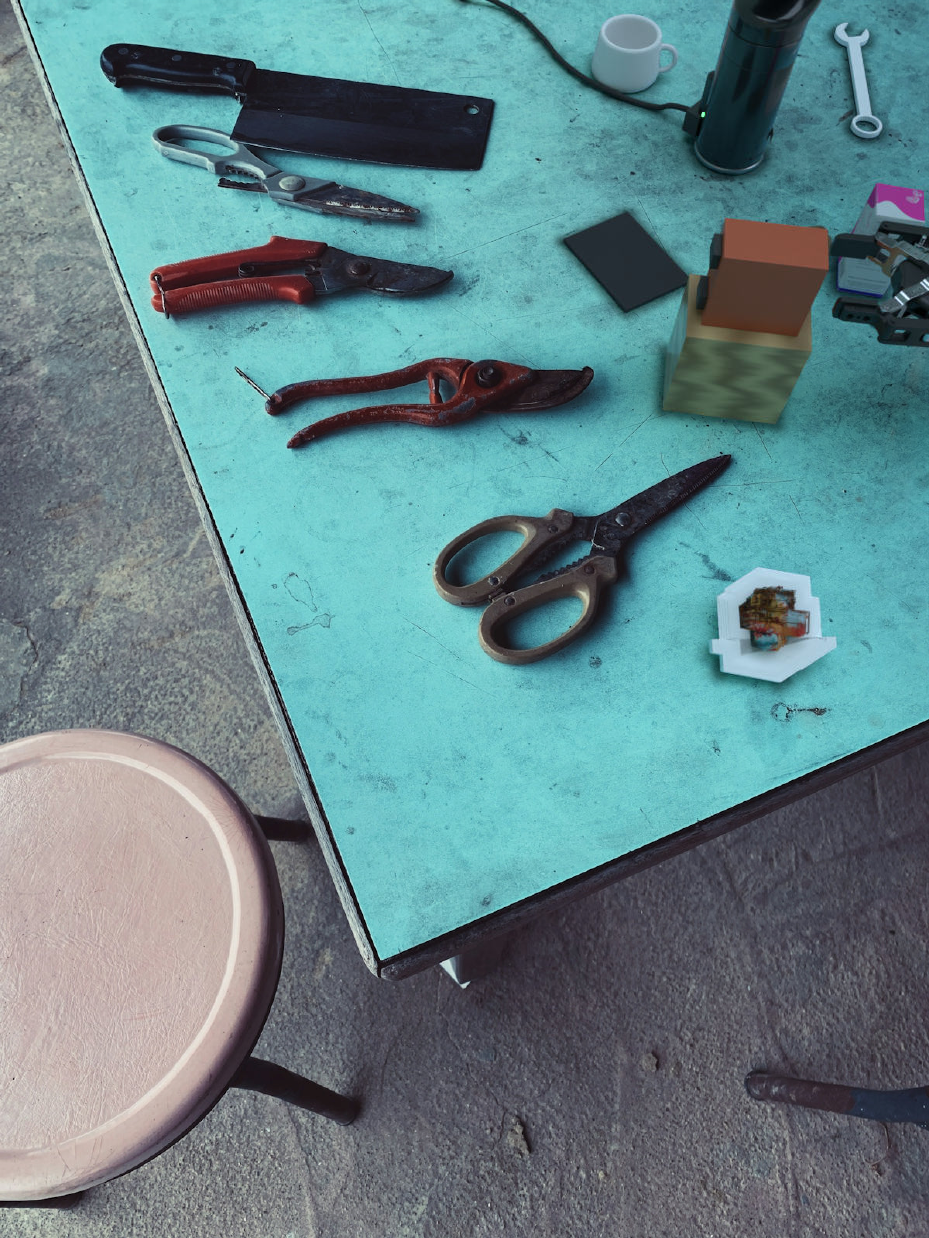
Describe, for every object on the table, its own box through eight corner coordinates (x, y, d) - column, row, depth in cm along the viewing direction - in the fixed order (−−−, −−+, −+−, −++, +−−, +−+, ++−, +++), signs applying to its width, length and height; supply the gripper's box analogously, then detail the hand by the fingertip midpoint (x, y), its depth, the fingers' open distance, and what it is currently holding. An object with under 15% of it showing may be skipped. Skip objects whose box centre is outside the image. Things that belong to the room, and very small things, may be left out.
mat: (562, 241, 118) (563, 238, 118) (626, 214, 121) (627, 211, 120) (625, 313, 113) (626, 310, 113) (691, 283, 116) (691, 280, 115)
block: (796, 296, 99) (827, 227, 91) (797, 337, 96) (829, 269, 88) (695, 284, 99) (717, 215, 91) (693, 324, 97) (715, 256, 89)
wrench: (865, 28, 139) (832, 26, 139) (867, 24, 138) (834, 21, 138) (884, 139, 128) (849, 137, 128) (886, 135, 127) (851, 132, 127)
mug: (586, 91, 132) (592, 49, 126) (594, 49, 136) (600, 7, 130) (670, 102, 131) (679, 60, 125) (676, 60, 135) (685, 18, 130)
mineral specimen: (818, 570, 95) (842, 557, 88) (826, 683, 94) (850, 678, 87) (700, 573, 96) (714, 560, 89) (706, 685, 95) (720, 681, 88)
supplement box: (883, 299, 115) (926, 223, 105) (835, 291, 115) (873, 215, 105) (884, 265, 117) (925, 188, 107) (836, 258, 118) (873, 180, 108)
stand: (775, 364, 110) (810, 287, 99) (775, 424, 106) (812, 351, 95) (666, 351, 111) (689, 273, 100) (662, 410, 107) (685, 336, 96)
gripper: (1012, 212, 91) (845, 193, 92) (1029, 321, 85) (850, 300, 85) (973, 271, 98) (818, 253, 98) (986, 376, 91) (821, 356, 92)
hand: (833, 275), depth 92 cm, fingers open, 8 cm apart
